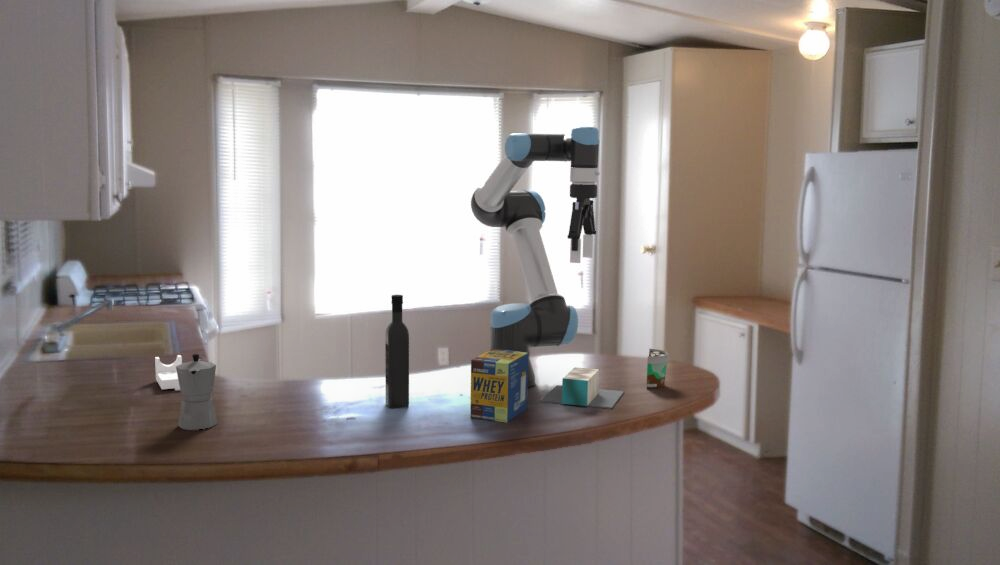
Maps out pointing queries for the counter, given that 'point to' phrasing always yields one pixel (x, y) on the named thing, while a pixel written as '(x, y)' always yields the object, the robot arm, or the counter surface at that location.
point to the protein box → (499, 385)
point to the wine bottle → (397, 358)
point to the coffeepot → (196, 394)
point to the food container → (656, 368)
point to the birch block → (580, 386)
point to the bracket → (167, 374)
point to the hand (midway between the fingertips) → (581, 260)
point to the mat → (601, 401)
